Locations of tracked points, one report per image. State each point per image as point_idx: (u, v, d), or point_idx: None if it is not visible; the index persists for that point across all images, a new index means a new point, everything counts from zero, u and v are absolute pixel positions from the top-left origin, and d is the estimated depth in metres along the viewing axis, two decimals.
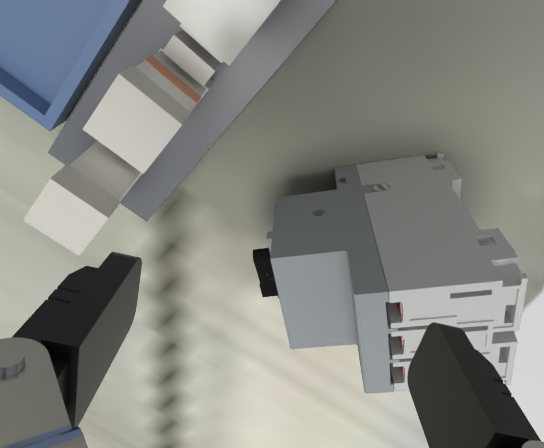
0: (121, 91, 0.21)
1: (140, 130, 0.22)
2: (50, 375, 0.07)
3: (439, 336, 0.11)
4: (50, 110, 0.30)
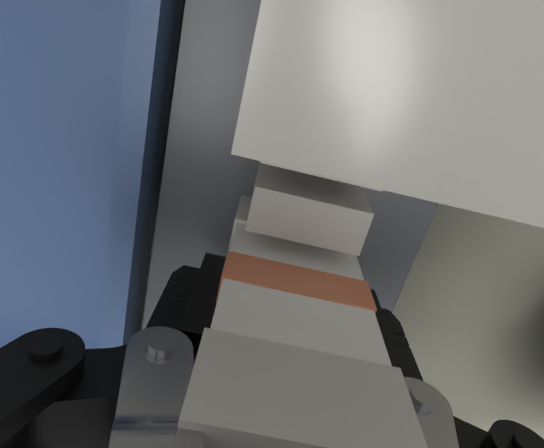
0: None
1: None
2: (189, 368, 0.08)
3: None
4: None
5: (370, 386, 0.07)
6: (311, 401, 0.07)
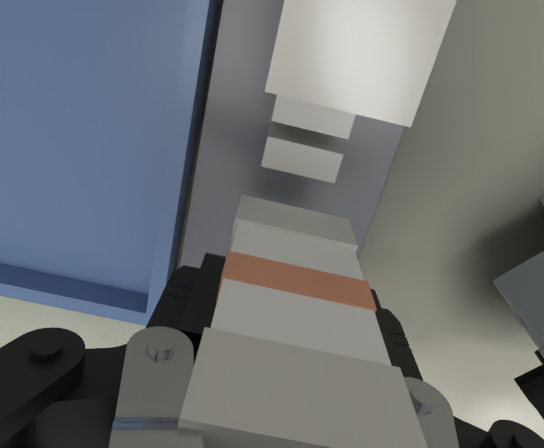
0: None
1: None
2: (189, 368, 0.08)
3: None
4: (150, 304, 0.22)
5: (370, 385, 0.07)
6: (311, 400, 0.07)
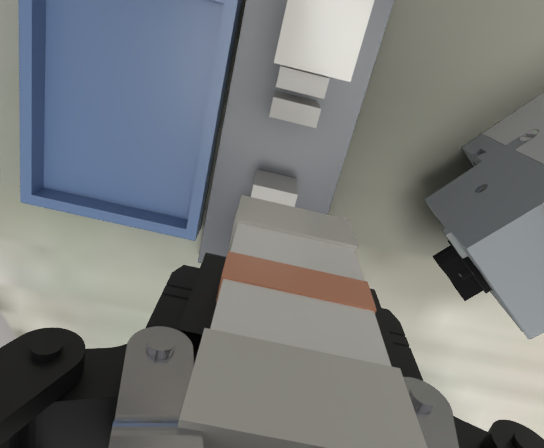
0: None
1: None
2: (190, 368, 0.08)
3: None
4: (189, 222, 0.32)
5: (370, 386, 0.07)
6: (311, 401, 0.07)
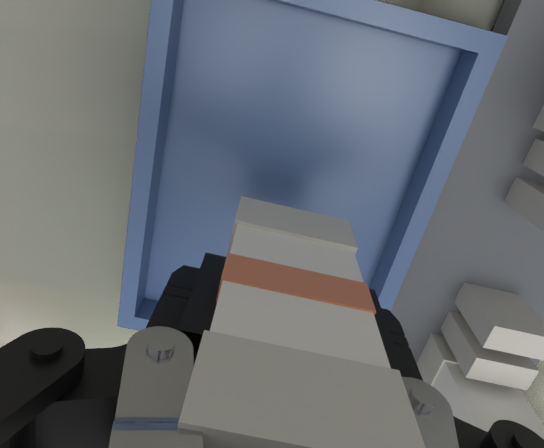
0: None
1: None
2: (189, 368, 0.08)
3: None
4: None
5: (369, 388, 0.07)
6: (310, 404, 0.07)
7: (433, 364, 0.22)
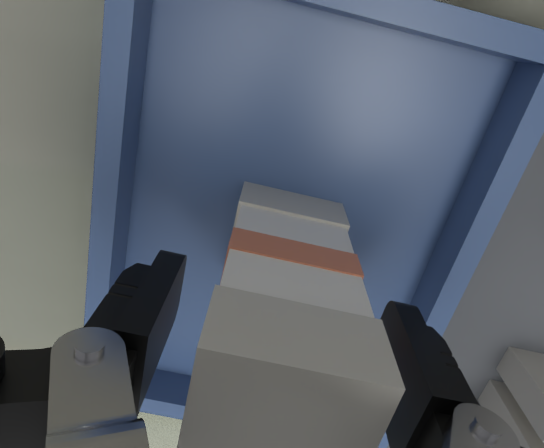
0: (220, 381, 0.07)
1: (301, 440, 0.08)
2: (124, 366, 0.07)
3: (394, 313, 0.11)
4: None
5: (355, 331, 0.09)
6: (305, 340, 0.08)
7: None
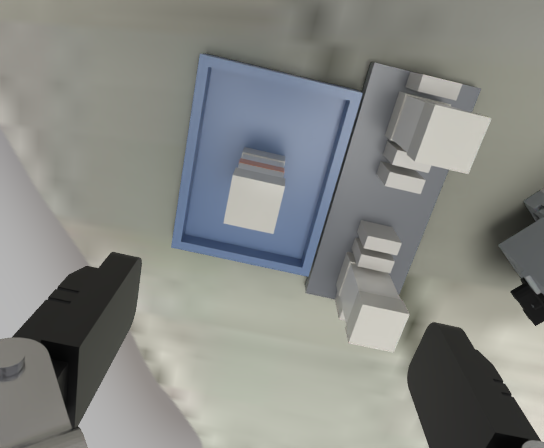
0: (238, 185, 0.29)
1: (259, 204, 0.30)
2: (50, 375, 0.07)
3: (439, 335, 0.11)
4: (305, 262, 0.40)
5: (275, 178, 0.31)
6: (260, 177, 0.30)
7: (346, 266, 0.39)
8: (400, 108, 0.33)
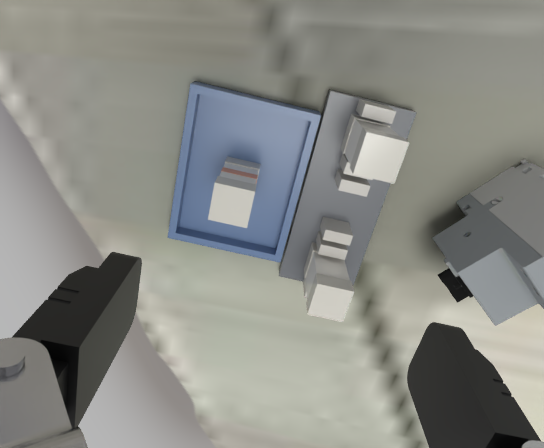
0: (219, 190, 0.38)
1: (235, 205, 0.39)
2: (50, 375, 0.07)
3: (438, 335, 0.11)
4: (277, 250, 0.49)
5: (248, 185, 0.39)
6: (236, 184, 0.39)
7: (310, 254, 0.48)
8: (350, 128, 0.42)
